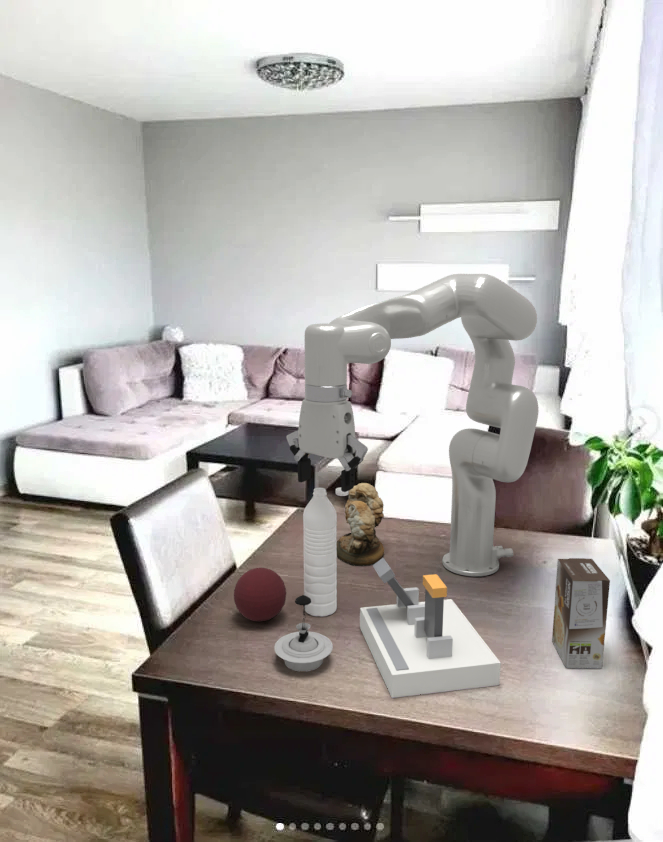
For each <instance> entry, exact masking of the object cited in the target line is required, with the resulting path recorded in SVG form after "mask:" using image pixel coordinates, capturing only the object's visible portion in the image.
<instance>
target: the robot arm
mask: <svg viewBox="0 0 663 842" xmlns="http://www.w3.org/2000/svg"><path fill="white" fill-rule="evenodd" d="M459 318H460V320H461V324H462V327H463V328H464V331H465V332H466V333H467V335H468V336H469V338H470V340H471V342H472V345H473V348H474V366H473V370H472V376H471V380H470V384H469V389H468V393H467V399H466V405H465V411H466V413H465V414H466V415H467V416H468V418H469V419H470V420H472V421H473V422H476V423H479V424H482V425H486V426H490V427H494V428H499V429H500V432H499V434H498V433H494V432H491V431H488V430H483V429H478V428H464V429H461V430H459V431H458V432H456V433H455V434H453V436H452V438H451V440H450V442H449V446H448V456H449V457H448V458H449V465H450V470H451V479H452V480H451V486H452V488H451V492H452V493H451V507H450V508H451V511H450V512H451V515H450V532H449V533H450V538H449V539H450V540H449V552H447V553H445V554H444V555H443V556H442V562H441V563H442V565H443V567H444V568H445V569H447V570H448V571H449V572H452V573H454V574H456V575H461V576H466V577H486V576H487V577H488V576H489V575H492V574H494V573H496V572H498V570H499V568H500V562H499V560H500V559H501V558H511V557H512V558H513V556H514V551H513V548H511V547H509V548H504V547H503V545H495V546H494V536H495V535H494V534H495V531H494V530H495V516H496V515H495V513H496V499H497V498H496V497H497V496H496V495H497V492H496V487H495V486H496V485H495V483H494V480H495V481H499V482H502V483H513V482H516V481H518V480H520V478H521V476H522V475H523V474H524V472H525V470H526V467H527V466H528V461H529V457H530V453H531V450H532V446H533V441H534V437H535V432H536V427H537V423H538V419H539V413H540V412H539V411H540V410H539V402H538V398H537V396H536V394H535V393H534V392H533V391H532V390H531V389H529V387H528V388H527V387H526V386H522V385H517V384H513V383H512V382H513V378H514V377H513V376H514V371H515V367H516V366H515V365H516V358H515V357H516V356H515V352H514V349H513V346H512V345H511V342H510V341H515V342H517V341H522V340H525V339H527V338H529V337H530V336H531V335H532V334H533V332H534V331H535V329H536V327H537V323H538V314H537V311H536V308H535V306H534V304H533V303H532V302H531V301H530V300H529V299H528V298H527V297H525V296H524V295H523V294H521V293H520V292H518V291H517V290H516V289H514V288H513V287H512V286H510V285H509V284H507V283H506V282H504V281H502V279H499V278H497V277H496V276H493V275H490V274H487V273H454V274H453V273H452V274H449V275H447V276H444V277H442V278H440V279H437V280H435V281H433V282H431V283H429V284H427V285H424V286H422V287H420V288H418V289H415V290H414V291H411V292H409V293H406V294H403V295H400V296H396V297H393V298H388V299H387V300H384V301H378V302H376V303H372V304H369V305H365V306H363V307H359V308H356V309H354V310H352V311H349V312H347V313H344V314H343V315H340V316H339V317H336V318H334V319H333V320H331V321H330V322H329V323H313V324H310V325H308V326H307V327H306V328H305V330H304V398H303V399H302V402H301V406H300V411H299V419H298V429H297V430H294V431H293V432H291V433H288V434H287V435H286V440H287V443H288V445H289V450H290V452H291V453H292V455H293V456H294V458H293V459H294V460H295V461H296V462H297V482H298V483H304V482H306V481H309V480H311V478H312V461H311V458H309V456H310V455H313V456H320V457H325V458H329V459H335V460H336V459H337V460H338V462H340V464H341V466H342V468H343V470H342V469H341V472H340V473H341V475H340V487H341V491H342V492H346V491H350V490H351V489H353V487H354V486H355V483H356V481H355V480H356V479H355V478H356V468H358V467H359V465H360V464H361V463H362V462H363V461H364V458H365V456H366V454H367V453H368V452H369V451H368V450H369V447H368V446H366V445H365V443H362V441H360V440H359V439H357V437H356V425H355V416H354V411H353V407H352V402H351V401H348V398H351V397H352V395H353V391H352V390H351V389H349V388H348V383H347V382H348V364H364V365H372V364H376V363H379V362H380V361H382V360H384V359H385V357H387V356H388V354H389V352H390V350H391V346H392V345H391V344H392V340H396V339H399V340H400V339H409V338H410V339H411V338H416V337H421V336H425V335H427V334H429V333H431V332H433V331H435V330H436V329H439V328H440V327H443V326H444V325H446V324H448V323H450V322H452V321H454V320H457V319H459ZM355 452H356V453H355ZM353 454H355V456H354V455H353Z"/></svg>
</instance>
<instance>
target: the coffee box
mask: <svg viewBox="0 0 663 842" xmlns="http://www.w3.org/2000/svg"><path fill="white" fill-rule="evenodd" d="M556 562H557V565H556V576H555V577H556V578H555V590H554V591H555V594H554V607H553V611H554V612H553V623H552V638H551V642H552V644H553V645H554V648H555V650H556V652H557V654H558V655H559V657H560V659H561V661H562V662H563V665H564V666H565V668H566V669H599V670H600V669H603V660H604V652H605V651H604V649H605V637H606V629H607V628H606V627H607V615H608V607H609V597H610V596H609V594H610V585H611V584H610V583H611V580H610V578H609V577H608V576H607V575H606V573H604V571H602V569H601V568H600V567H599V565H598V564H597V563H596V562H595V560H594V559H593V558H583V557H582V558H579V557H578V558H576V557H571V558H557V561H556Z"/></svg>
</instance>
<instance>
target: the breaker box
mask: <svg viewBox="0 0 663 842" xmlns="http://www.w3.org/2000/svg"><path fill="white" fill-rule="evenodd" d="M403 589H404V590H405V592H406V593H407V594H408V596H409V597H410V598H411V600H412V601H413V603H414V604H415V605H410V606H407V608H406V606H405V605H404V604H403V603H402V601H401V600H400V599H399V597H398V596H397V595H396V603H395V604H386V605H376V606H375V605H374V606H364V607H360V608H359V629H360V631H361V633H362V636H363V637H364V640H365V641H366V644H367V646H368V648H369V651H370V652H371V655H372V657H373V660H374V662H375V663H376V666H377V669H378V670H379V673H380V675H381V678H382V680H383V682H384V684H385V686H386V689H387V688H388V689H387V692H388V693H389V695H390V697H391V699H394V698H403V697H412V696H419V695H420V694H421V695H429V694H435V693H436V694H437V693H438V694H439V693H445V692H452V691H453V692H454V691H461V690H469V689H477V688H479V689H480V688H486V687H494V686H500V681H501V679H500V678H501V664H502V663H501V661H500V660H499V658H498V657H497V656H496V655H495V653H494V652H493V651H492V650H491V648H490V647H489V645H488V644H487V643H486V642H485V641H484V639H483V638H482V637H481V635H480V634H479V633H478V631H477V630H476V629H475V628H474V626H473V625H472V624H471V622H470V621H469V619H468V618H467V617H466V616H465V614H464V613H462V611H461V609H460V608H459V606H458V605H457V604H456V603H455V601H454V600H453V599H452V598H450V599H448V598H447V599H444V606H443V632H442V636H441V637H431V638H428V637H427V636H426V634H425V631H424V618H425V601H419V600H420V599H419V598H420V597H419V596H420V595H419V594H420V589H419V587H416V586H415V587H406V588H404V587H403ZM421 695H420V696H421Z"/></svg>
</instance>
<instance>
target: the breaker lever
mask: <svg viewBox="0 0 663 842" xmlns="http://www.w3.org/2000/svg"><path fill="white" fill-rule="evenodd" d="M422 586H423V587H424V588H425V591H424V602H425V618H424V631H425V634H426V636H427V637H428V638H431V637H441V636H442V632H443V606H444V600H445V598H446V597H448V596H447V595H448V587H447V586H446V584H445V583H444V582H443V580H442V579H441V578H440V576H439V575H438V574H435V573H434V574H425V575H424V574H423V575H422Z"/></svg>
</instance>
